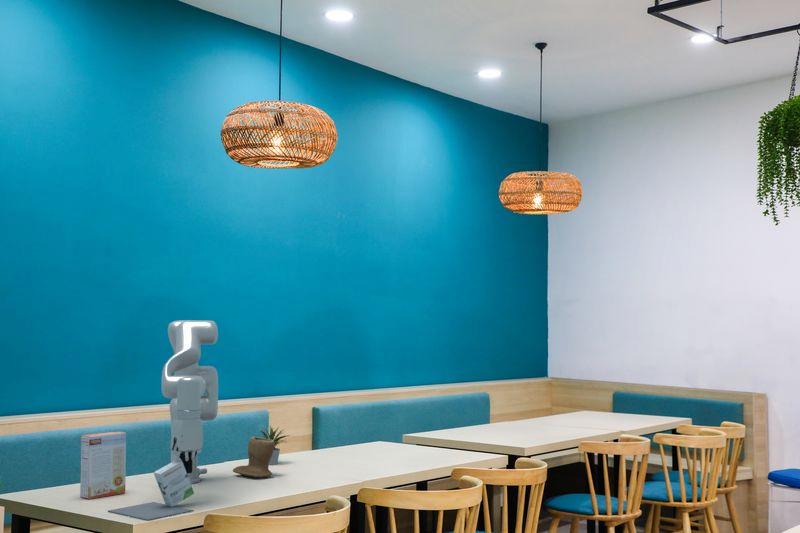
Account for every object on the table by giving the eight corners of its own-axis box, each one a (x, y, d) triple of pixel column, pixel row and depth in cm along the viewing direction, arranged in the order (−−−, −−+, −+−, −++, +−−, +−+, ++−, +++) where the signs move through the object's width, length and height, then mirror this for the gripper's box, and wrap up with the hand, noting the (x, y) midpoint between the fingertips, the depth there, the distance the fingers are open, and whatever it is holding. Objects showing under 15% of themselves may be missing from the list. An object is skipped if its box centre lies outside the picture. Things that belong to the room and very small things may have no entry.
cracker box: (116, 491, 299) (117, 430, 300) (125, 493, 295) (127, 432, 296) (78, 497, 288) (80, 434, 290) (88, 499, 284) (90, 435, 286)
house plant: (272, 468, 349) (272, 427, 350) (246, 465, 356) (246, 425, 357) (294, 463, 361) (294, 424, 362) (268, 461, 368) (269, 422, 370)
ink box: (187, 491, 280) (175, 458, 278) (195, 493, 276) (183, 460, 274) (164, 504, 275) (152, 471, 272) (172, 507, 271) (159, 474, 268)
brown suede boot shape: (280, 476, 330) (281, 437, 331) (255, 480, 321) (256, 440, 322) (256, 472, 340) (257, 433, 341) (231, 475, 332) (232, 436, 333)
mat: (153, 503, 279) (153, 501, 279) (193, 511, 267) (193, 510, 267) (107, 511, 266) (107, 510, 266) (147, 520, 254) (147, 519, 254)
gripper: (198, 413, 287) (197, 469, 286) (162, 416, 275) (160, 474, 274) (213, 414, 283) (212, 471, 281) (177, 417, 271) (175, 477, 269)
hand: (187, 472), depth 277 cm, fingers closed
